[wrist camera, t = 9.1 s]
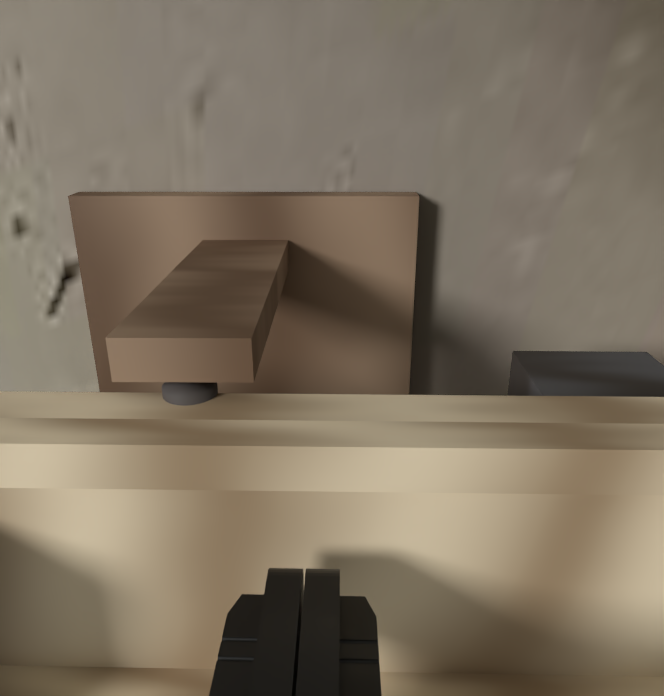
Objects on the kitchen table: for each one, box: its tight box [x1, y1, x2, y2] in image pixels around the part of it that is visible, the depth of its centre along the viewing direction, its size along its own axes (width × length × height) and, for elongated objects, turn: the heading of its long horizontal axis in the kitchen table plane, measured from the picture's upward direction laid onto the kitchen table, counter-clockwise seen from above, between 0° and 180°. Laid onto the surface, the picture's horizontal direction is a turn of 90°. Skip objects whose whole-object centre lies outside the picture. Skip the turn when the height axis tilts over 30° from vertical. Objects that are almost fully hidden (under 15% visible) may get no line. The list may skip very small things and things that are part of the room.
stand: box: [68, 192, 419, 395], centre depth 19 cm, size 12×14×10 cm
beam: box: [0, 351, 664, 696], centre depth 16 cm, size 25×8×8 cm, turn 90°
